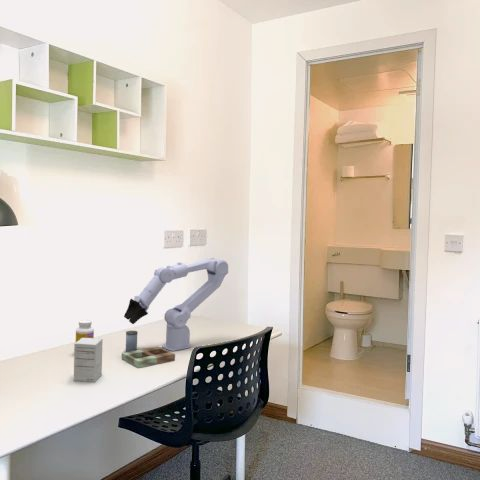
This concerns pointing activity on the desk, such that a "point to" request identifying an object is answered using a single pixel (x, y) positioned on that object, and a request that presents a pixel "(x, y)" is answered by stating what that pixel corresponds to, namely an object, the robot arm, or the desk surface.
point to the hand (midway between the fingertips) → (128, 320)
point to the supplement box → (88, 359)
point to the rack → (148, 357)
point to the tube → (131, 341)
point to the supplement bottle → (84, 330)
